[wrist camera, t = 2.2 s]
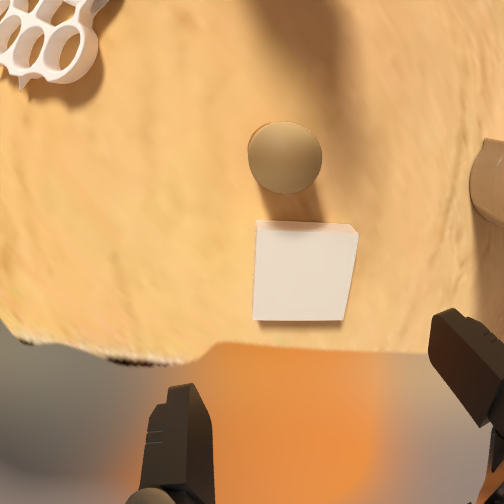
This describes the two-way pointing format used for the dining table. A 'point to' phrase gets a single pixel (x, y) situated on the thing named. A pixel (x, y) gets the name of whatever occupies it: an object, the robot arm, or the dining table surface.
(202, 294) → the dining table surface
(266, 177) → the ochre cylinder
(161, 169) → the dining table surface
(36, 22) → the white holed flat part
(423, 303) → the dining table surface
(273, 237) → the white base
